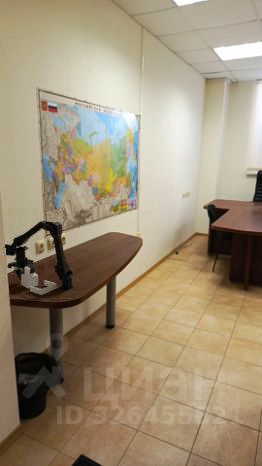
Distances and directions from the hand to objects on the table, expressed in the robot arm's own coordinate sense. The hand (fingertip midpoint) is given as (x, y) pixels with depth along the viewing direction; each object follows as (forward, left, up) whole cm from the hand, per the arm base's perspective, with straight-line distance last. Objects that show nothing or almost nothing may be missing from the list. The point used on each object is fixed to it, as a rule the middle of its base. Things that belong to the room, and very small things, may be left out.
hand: (21, 280), depth 194 cm
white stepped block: (-7, 0, -2) cm, 7 cm away
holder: (-18, 0, -2) cm, 18 cm away
